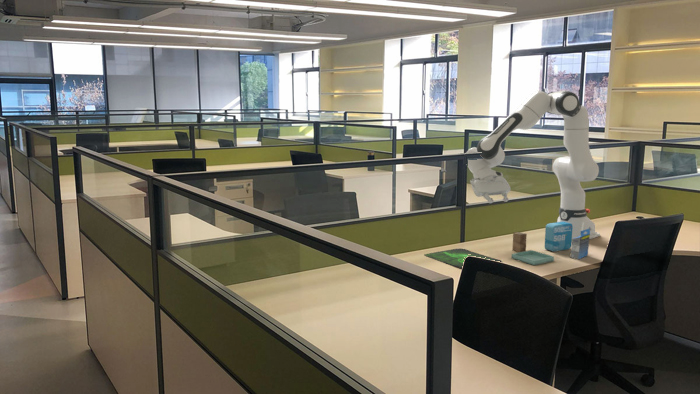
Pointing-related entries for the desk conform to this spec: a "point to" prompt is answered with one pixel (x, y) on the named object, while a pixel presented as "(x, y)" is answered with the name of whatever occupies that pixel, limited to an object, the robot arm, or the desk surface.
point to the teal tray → (532, 257)
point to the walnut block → (519, 242)
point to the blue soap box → (558, 236)
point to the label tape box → (580, 245)
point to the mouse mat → (455, 256)
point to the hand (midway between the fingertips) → (499, 201)
